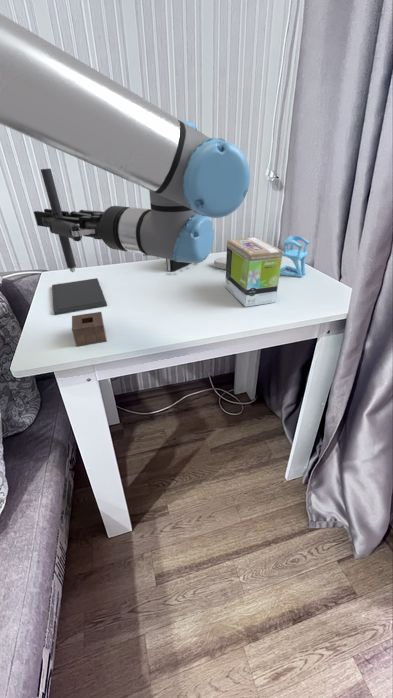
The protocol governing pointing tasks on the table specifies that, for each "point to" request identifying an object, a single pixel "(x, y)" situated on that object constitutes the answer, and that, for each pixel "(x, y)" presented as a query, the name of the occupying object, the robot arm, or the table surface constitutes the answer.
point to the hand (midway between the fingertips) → (42, 217)
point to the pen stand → (88, 329)
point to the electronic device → (220, 263)
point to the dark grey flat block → (77, 296)
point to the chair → (295, 256)
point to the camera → (175, 265)
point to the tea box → (252, 270)
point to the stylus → (57, 208)
